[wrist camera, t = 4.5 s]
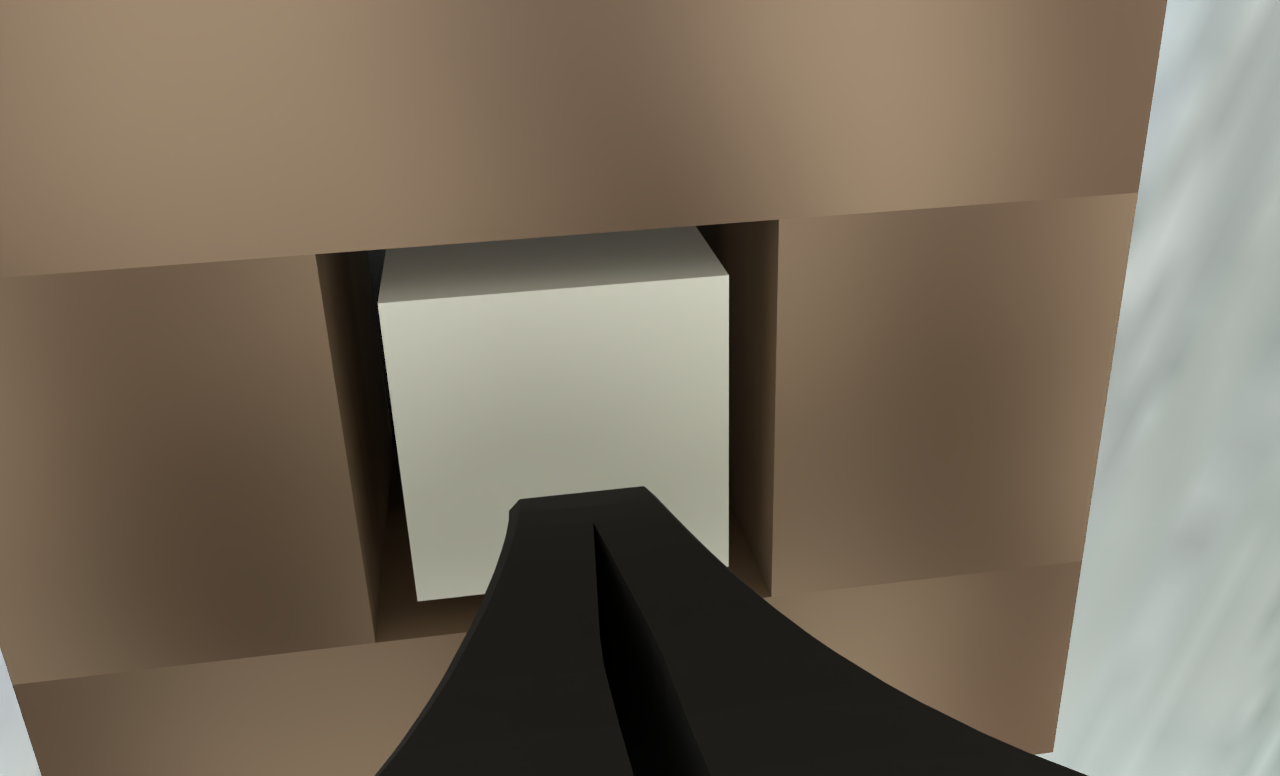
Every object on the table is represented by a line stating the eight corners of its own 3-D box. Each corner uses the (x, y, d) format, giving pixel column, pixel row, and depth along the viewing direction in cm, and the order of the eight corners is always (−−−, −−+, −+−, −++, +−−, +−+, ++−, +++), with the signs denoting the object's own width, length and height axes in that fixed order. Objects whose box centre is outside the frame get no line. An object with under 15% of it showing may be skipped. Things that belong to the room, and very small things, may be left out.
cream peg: (425, 418, 19) (417, 601, 15) (396, 184, 18) (377, 303, 13) (661, 396, 20) (728, 567, 15) (655, 166, 18) (729, 274, 13)
